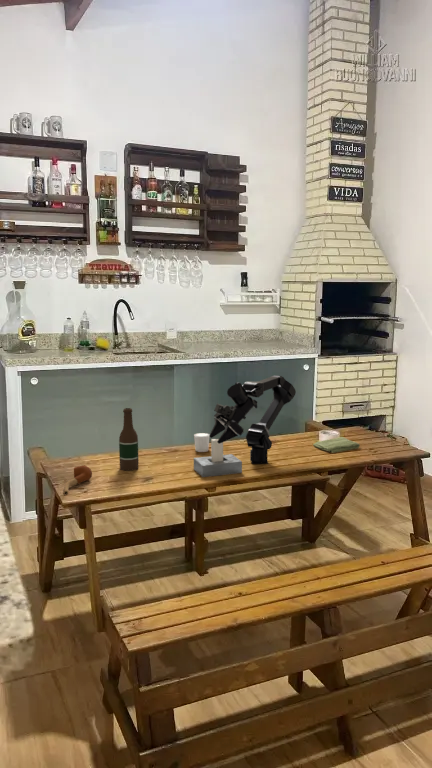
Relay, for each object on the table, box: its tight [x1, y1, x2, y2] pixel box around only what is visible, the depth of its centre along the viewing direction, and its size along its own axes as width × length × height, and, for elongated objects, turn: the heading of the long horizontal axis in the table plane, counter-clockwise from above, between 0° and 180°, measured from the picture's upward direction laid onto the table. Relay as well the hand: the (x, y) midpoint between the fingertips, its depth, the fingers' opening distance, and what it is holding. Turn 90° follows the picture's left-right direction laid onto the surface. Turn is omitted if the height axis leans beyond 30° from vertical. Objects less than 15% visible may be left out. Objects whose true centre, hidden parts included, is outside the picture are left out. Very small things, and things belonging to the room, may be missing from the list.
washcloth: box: [312, 436, 361, 454], centre depth 285 cm, size 13×18×3 cm
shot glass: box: [193, 432, 210, 453], centre depth 281 cm, size 7×7×7 cm
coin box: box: [193, 453, 243, 478], centre depth 252 cm, size 16×11×4 cm
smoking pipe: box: [63, 465, 93, 495], centre depth 235 cm, size 7×18×6 cm, turn 175°
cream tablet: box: [210, 438, 224, 462], centre depth 251 cm, size 4×2×12 cm, turn 109°
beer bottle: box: [118, 407, 140, 472], centre depth 254 cm, size 8×8×24 cm
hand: (214, 439), depth 250 cm, fingers open, 9 cm apart
